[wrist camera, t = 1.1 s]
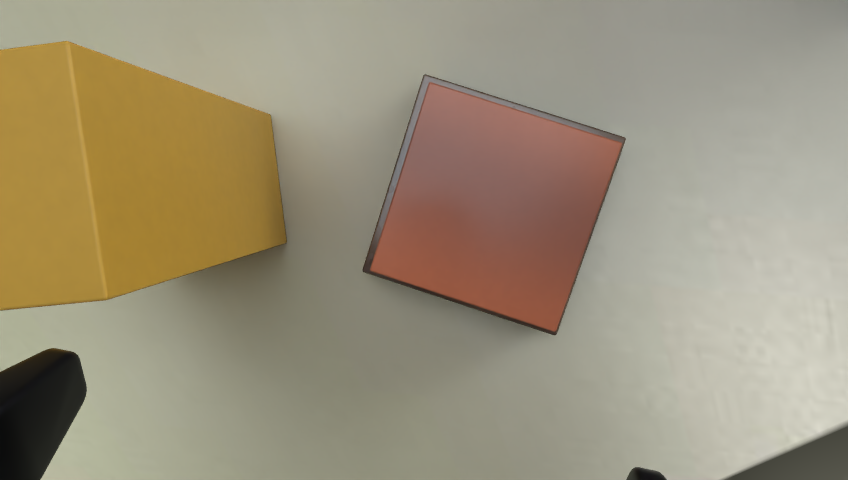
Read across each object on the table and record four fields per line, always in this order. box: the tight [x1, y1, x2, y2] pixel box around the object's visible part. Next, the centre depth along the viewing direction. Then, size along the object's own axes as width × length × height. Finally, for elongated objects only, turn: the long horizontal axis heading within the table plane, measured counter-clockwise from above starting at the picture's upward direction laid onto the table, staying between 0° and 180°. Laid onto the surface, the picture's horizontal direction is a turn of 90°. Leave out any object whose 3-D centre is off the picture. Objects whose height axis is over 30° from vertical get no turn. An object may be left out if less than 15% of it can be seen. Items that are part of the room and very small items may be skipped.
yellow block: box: [0, 41, 287, 310], centre depth 19 cm, size 6×6×13 cm
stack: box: [363, 74, 626, 335], centre depth 23 cm, size 8×8×4 cm
